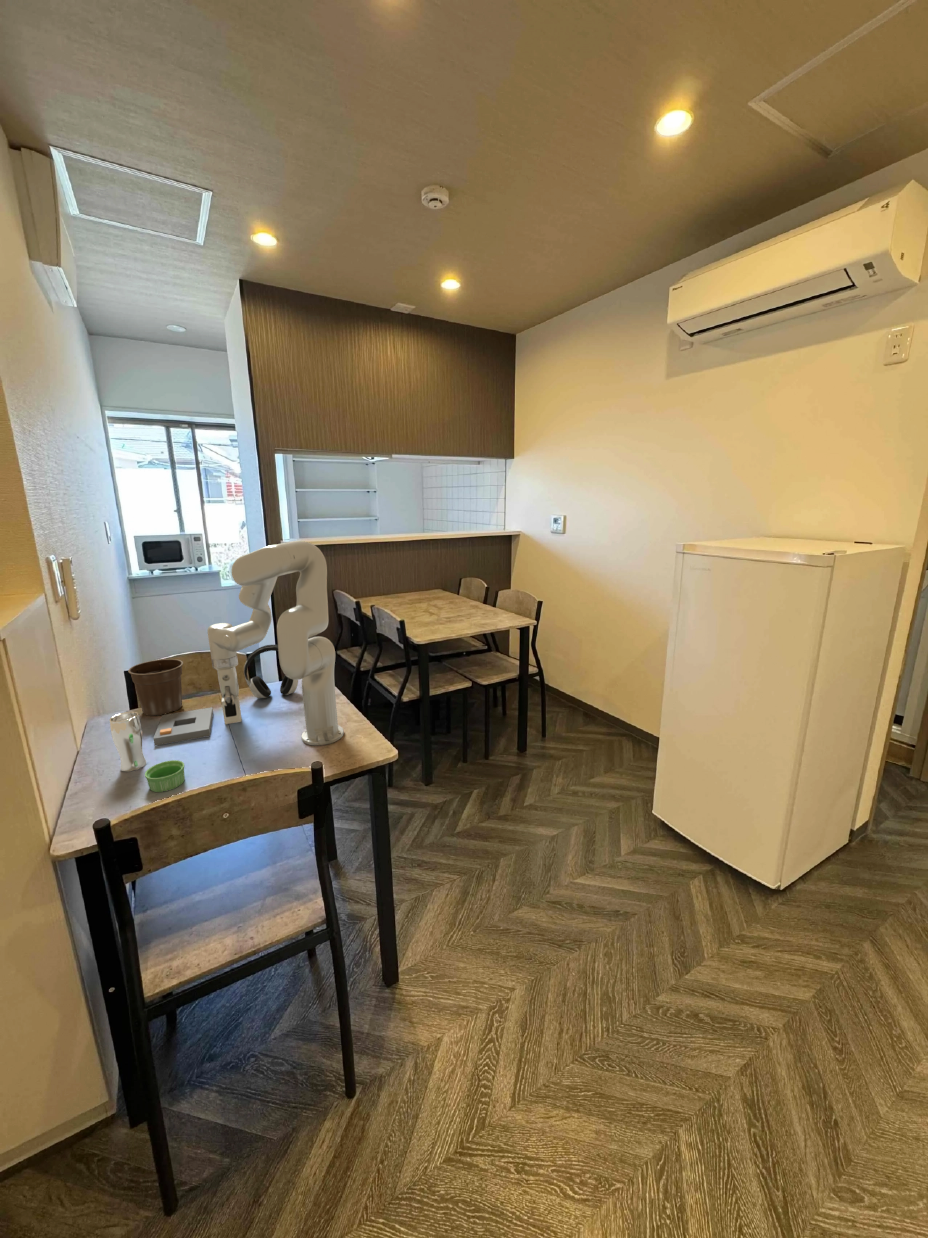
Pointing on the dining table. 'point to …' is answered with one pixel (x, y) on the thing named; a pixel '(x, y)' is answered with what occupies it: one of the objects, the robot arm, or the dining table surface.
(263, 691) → the headphones
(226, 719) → the plug
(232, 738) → the dining table surface
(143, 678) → the plant pot
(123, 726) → the beer glass
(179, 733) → the socket
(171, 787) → the ramekin
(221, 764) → the dining table surface
